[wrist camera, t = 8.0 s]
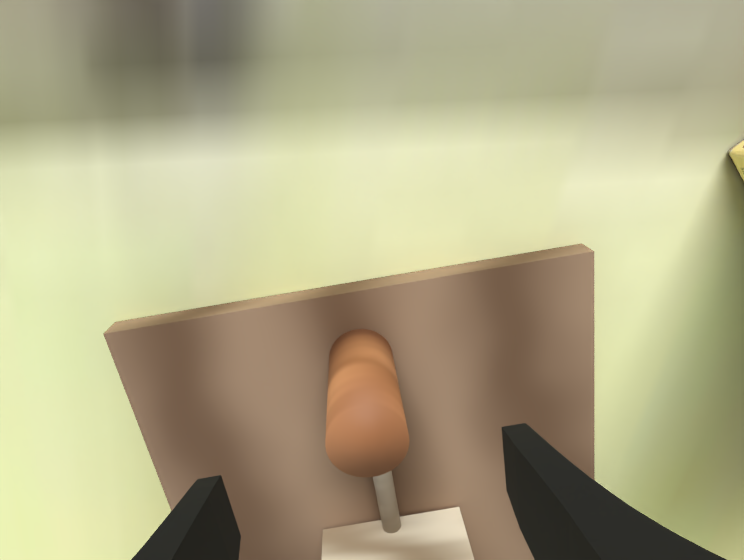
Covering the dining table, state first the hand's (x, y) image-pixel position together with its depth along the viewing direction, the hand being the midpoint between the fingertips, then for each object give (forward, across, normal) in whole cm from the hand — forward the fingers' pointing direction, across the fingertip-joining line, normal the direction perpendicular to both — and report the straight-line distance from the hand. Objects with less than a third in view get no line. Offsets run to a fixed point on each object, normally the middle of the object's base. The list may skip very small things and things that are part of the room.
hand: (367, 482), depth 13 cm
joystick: (+7, 0, +6) cm, 9 cm away
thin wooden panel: (+8, 0, +16) cm, 17 cm away
